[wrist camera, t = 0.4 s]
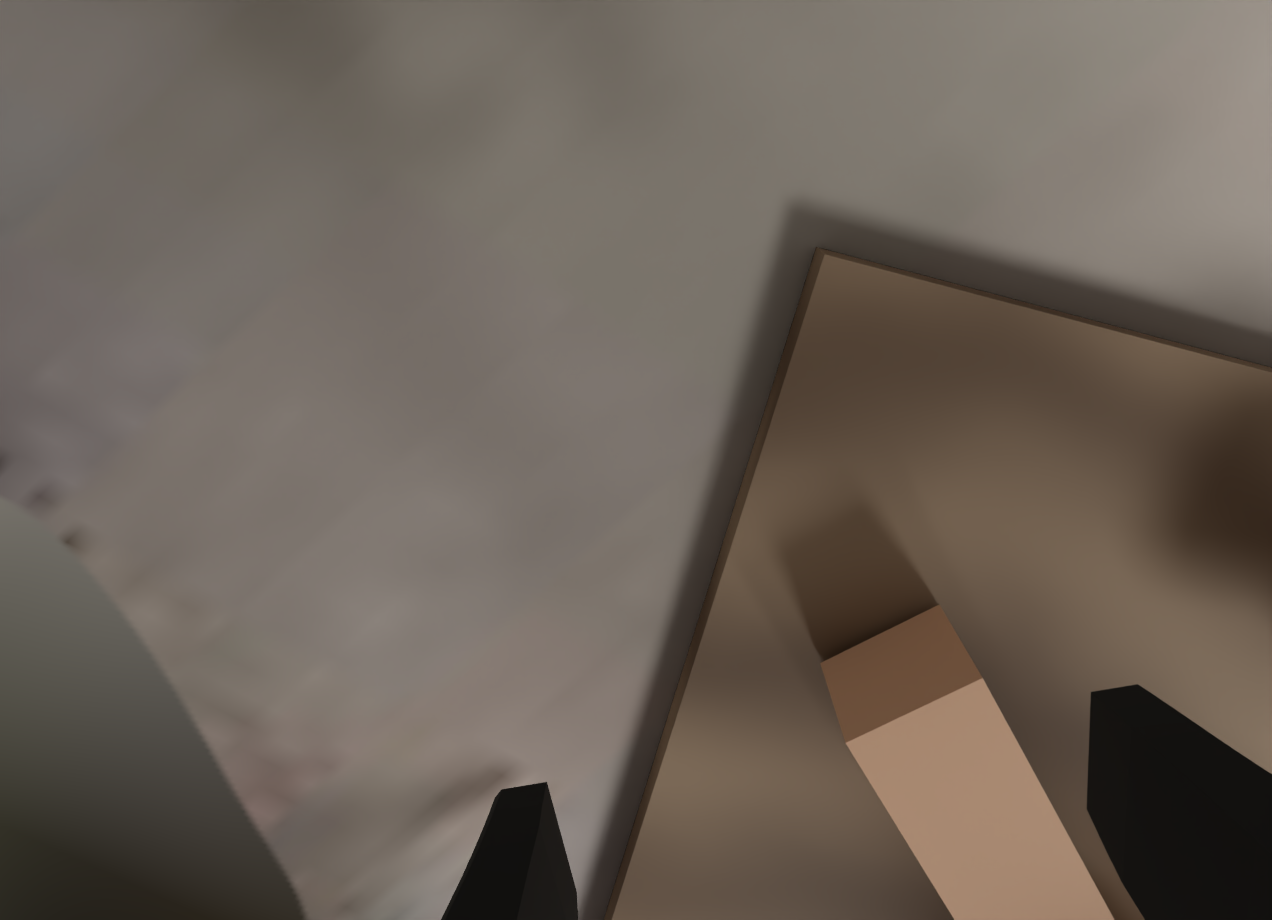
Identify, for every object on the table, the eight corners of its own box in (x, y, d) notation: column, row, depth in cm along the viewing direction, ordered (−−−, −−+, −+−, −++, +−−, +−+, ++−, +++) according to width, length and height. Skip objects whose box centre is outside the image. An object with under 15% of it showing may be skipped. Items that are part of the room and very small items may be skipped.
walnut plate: (1159, 1066, 29) (1176, 1098, 28) (592, 953, 28) (591, 983, 27) (1538, 438, 22) (1577, 453, 21) (816, 246, 21) (824, 254, 20)
